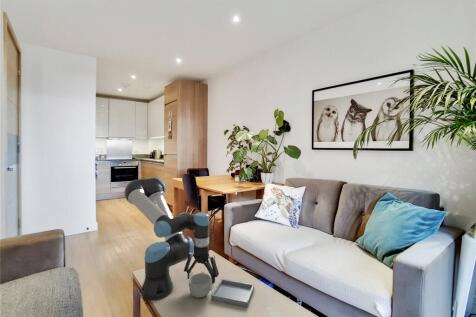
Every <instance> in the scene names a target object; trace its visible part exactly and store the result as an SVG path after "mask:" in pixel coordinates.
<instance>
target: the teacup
mask: <svg viewBox="0 0 476 317" xmlns="http://www.w3.org/2000/svg"><path fill="white" fill-rule="evenodd" d="M210 277H211V275H210V274H209V273H206V272H205V271H200V272H199V273H195V274H193V276H191V277H190V278H189V279H188V288H189V292H190V294H191V296H193V297H194V298H200V299H201V298H203V297H205V296H207V295H208V294H209V293H210Z"/></svg>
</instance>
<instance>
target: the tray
mask: <svg viewBox="0 0 476 317" xmlns="http://www.w3.org/2000/svg"><path fill="white" fill-rule="evenodd" d="M254 291H255V284H253V283H247V282H242V281H237V280H230V279H224V278H221V279H220V281H219V283H218V284H217V285H216V287H215V289H214V290H213V292H212V294H211V296H210V297H211V298H210V299H211V301H214V302H218V303H223V304H229V305H233V306H239V307H243V308H248V307H249V305H250V302H251V299H252V297H253V293H254Z"/></svg>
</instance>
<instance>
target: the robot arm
mask: <svg viewBox="0 0 476 317" xmlns="http://www.w3.org/2000/svg"><path fill="white" fill-rule="evenodd" d="M166 190H167V188H166V184H165V181H164V180H163V179H162V178H160V177H149V178H142V179H139V178H138V179H134V180H131V181H130V182H129V183H128V184H127V185H126V186H125V189H124V197H125V199H126V201H127V202H128V203H129V204H130V205H134V206H135V208H136V209H137V210H139V211H140V213H142V215H144V216H145V218H146V219H147V220H148V221H149V222H150V223H151V224H152V225H153V232H154V234H155V236H156V237H157V238H164V241H157V242H154V243H151V244H150V245H148V247H146V249H145V251H144V280H143V283H142V286H141V296H142V298H144V299H146V300H150V301H155V300H160V299H163V298H165V297H168V296H169V295H170V294H171V293H172V291H173V290H174V286H173V282H172V279H171V278H172V277H171V276H170V268H171V267H174V266H175V265H177V264H179V263H181V262H182V263H183V262H185V261H186V263H185V266H184V269H183V272H186V273H187V276H186V278H187V280H189V278H190V277H191V276H193V275H194V274H193V273H194V271H193V269H194V267H195V266H196V264H202V265H204V267H205V268H206V270H207V271H208V274H209V275H210V291H213V289H214V284H215V283H216V278H218V277H219V275H220V273H219V269H218V267H217V266H218V265H217V263H216V255H210V245H209V244H210V214H208V213H207V212H196V213H195V214H192V213H190V212H184V211H183V212H181V213H180V214H178V215H177V216H175V217H174V216H173V214H172V212H171V210H170V208H169V205H168V204H167V201H166V199H165V196H166ZM186 230H190V231H192V232H193V239H192V237H190V236H187V235H185V233H184V232H183V231H186ZM193 258H194V260H193ZM192 260H193V262H192V264H191V261H192ZM210 291H209V292H210Z"/></svg>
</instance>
